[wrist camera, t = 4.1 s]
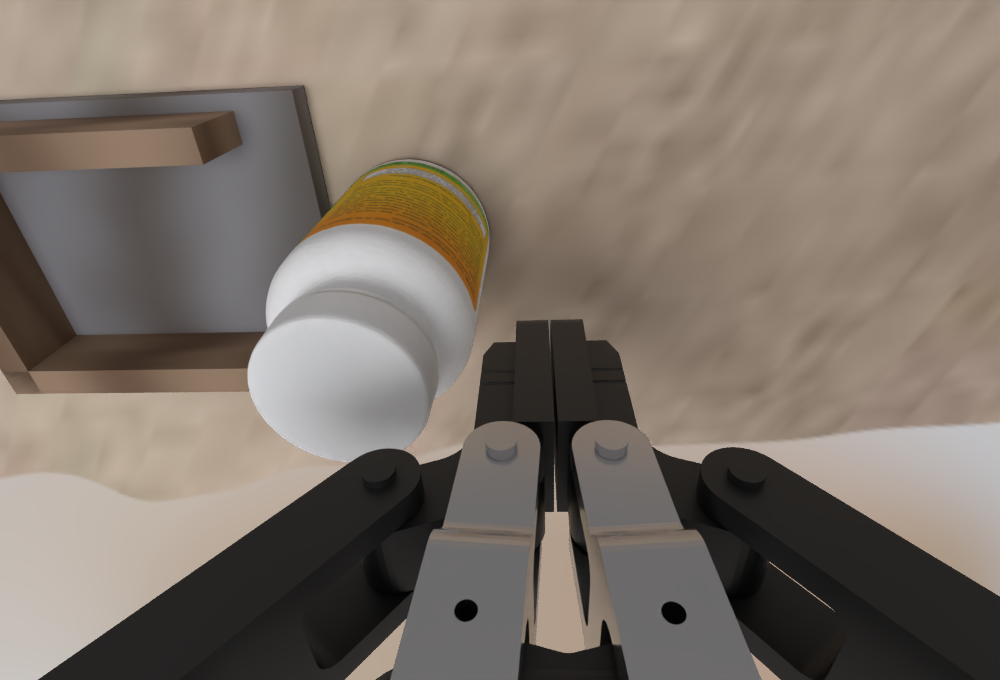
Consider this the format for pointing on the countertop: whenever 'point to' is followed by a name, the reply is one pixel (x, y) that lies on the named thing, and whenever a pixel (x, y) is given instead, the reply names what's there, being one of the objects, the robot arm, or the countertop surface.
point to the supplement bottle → (373, 313)
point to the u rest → (148, 235)
